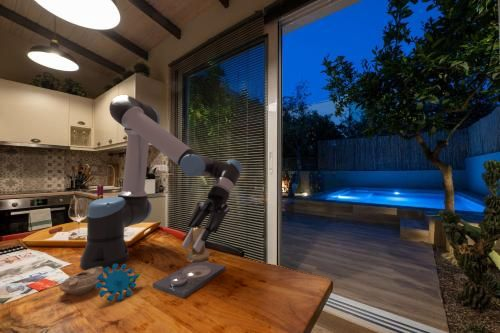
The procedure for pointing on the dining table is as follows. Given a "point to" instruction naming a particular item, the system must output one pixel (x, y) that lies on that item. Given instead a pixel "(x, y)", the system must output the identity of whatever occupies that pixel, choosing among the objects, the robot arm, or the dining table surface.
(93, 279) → the pottery oil lamp
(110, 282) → the gear
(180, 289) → the carrier plate
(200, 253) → the metal knob
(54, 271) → the dining table surface
